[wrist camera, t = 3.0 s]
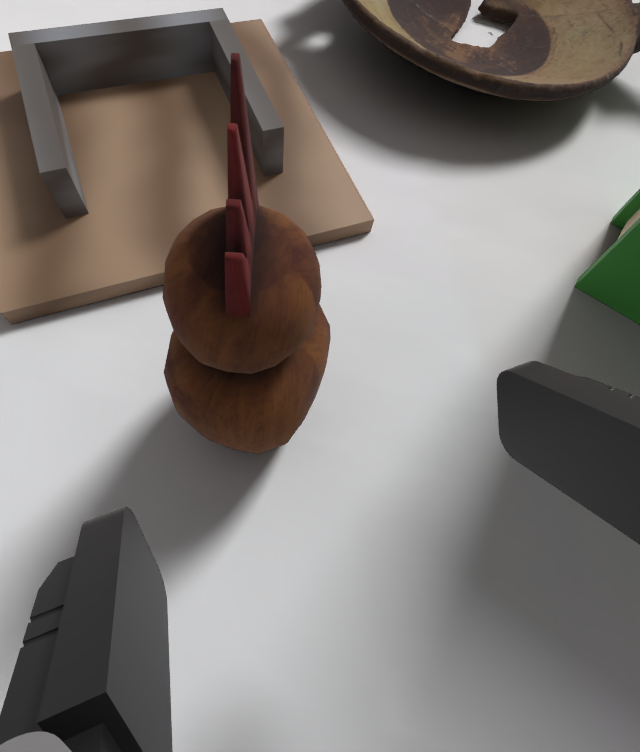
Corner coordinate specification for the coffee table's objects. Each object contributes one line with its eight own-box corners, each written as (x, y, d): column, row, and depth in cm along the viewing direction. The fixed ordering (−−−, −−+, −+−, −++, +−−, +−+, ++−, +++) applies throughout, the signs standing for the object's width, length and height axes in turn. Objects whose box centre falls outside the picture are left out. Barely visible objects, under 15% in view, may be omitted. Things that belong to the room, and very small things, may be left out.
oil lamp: (384, -61, 42) (406, -188, 35) (697, 62, 39) (790, -51, 32) (257, 59, 33) (254, -80, 26) (651, 234, 30) (767, 128, 23)
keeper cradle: (11, 323, 23) (-39, 274, 19) (-31, 73, 30) (-73, 2, 26) (370, 231, 27) (385, 177, 24) (261, 34, 34) (260, -31, 31)
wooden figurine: (231, 325, 24) (176, -17, 10) (333, 365, 23) (418, 65, 10) (167, 441, 21) (-27, 182, 7) (282, 488, 21) (301, 307, 7)
